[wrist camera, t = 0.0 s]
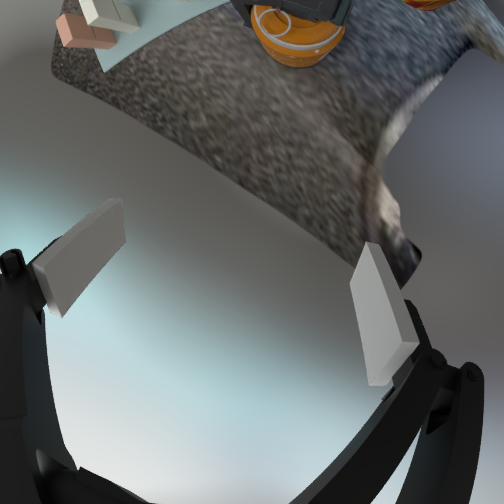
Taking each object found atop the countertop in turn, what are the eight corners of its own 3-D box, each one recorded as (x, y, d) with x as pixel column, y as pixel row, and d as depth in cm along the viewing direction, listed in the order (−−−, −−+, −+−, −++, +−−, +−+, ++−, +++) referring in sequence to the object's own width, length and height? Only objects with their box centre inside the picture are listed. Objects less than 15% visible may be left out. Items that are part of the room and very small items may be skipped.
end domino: (107, 21, 28) (64, 12, 19) (117, 43, 30) (72, 38, 21) (99, 27, 28) (55, 21, 19) (108, 49, 31) (63, 47, 22)
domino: (130, 5, 27) (88, -9, 17) (140, 27, 29) (98, 16, 20) (121, 11, 27) (78, -1, 18) (130, 33, 30) (87, 25, 20)
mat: (217, -55, 20) (216, -56, 20) (247, -5, 26) (247, -6, 26) (85, 23, 28) (84, 23, 28) (105, 72, 33) (104, 72, 33)
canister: (316, 78, 32) (342, 62, 15) (239, 52, 31) (192, 18, 14) (337, 27, 27) (378, -25, 10) (261, 1, 26) (234, -66, 10)
